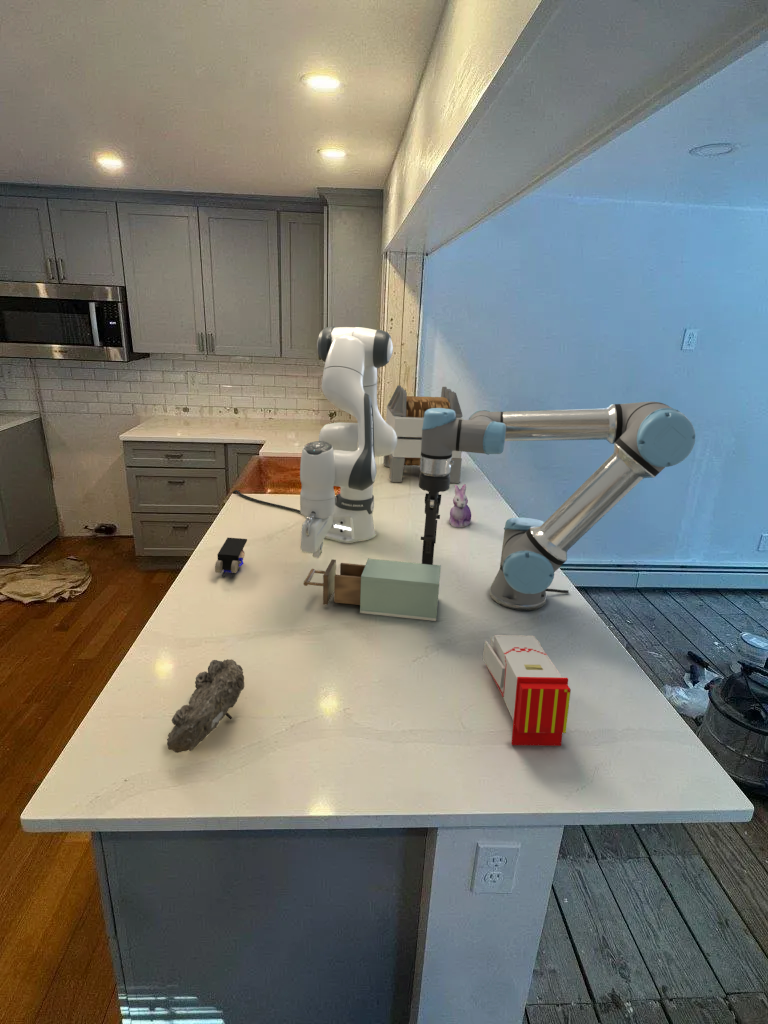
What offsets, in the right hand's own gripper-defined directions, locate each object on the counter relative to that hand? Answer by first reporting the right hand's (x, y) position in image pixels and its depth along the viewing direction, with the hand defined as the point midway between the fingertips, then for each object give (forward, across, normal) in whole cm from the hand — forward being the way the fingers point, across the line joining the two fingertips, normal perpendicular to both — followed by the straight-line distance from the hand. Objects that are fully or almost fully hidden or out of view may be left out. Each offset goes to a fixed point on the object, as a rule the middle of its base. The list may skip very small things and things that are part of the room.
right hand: (428, 552), depth 145 cm
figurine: (+16, +67, -9) cm, 69 cm away
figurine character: (+16, +11, +58) cm, 61 cm away
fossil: (+16, -50, +37) cm, 64 cm away
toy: (+16, -33, -21) cm, 43 cm away
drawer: (+15, 0, +20) cm, 25 cm away
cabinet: (+16, 0, +7) cm, 18 cm away
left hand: (+4, 0, +29) cm, 29 cm away
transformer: (+16, +132, +11) cm, 133 cm away
